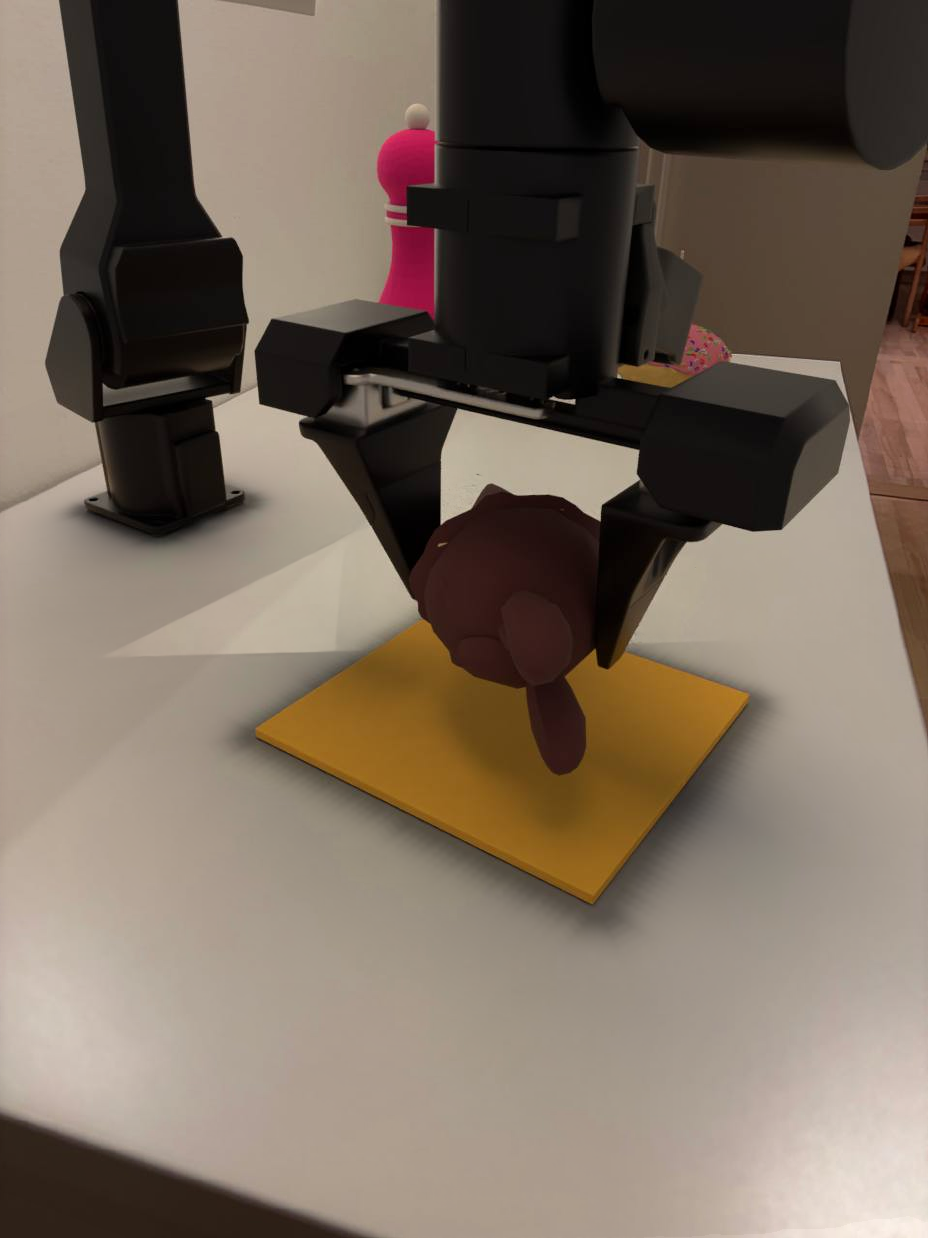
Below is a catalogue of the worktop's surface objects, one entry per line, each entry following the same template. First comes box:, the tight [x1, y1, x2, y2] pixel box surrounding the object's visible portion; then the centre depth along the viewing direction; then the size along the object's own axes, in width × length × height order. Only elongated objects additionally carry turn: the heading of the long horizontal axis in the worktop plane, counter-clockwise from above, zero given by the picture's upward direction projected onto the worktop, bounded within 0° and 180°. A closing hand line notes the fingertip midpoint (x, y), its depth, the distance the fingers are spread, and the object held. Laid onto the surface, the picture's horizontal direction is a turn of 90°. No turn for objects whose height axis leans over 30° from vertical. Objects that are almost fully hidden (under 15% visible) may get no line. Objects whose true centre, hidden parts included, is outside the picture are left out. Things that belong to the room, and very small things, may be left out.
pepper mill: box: [376, 103, 441, 320], centre depth 71 cm, size 7×7×20 cm
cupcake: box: [618, 250, 733, 388], centre depth 65 cm, size 9×8×12 cm
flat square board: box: [254, 618, 750, 905], centre depth 36 cm, size 14×13×1 cm
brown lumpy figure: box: [409, 482, 600, 776], centre depth 33 cm, size 7×7×15 cm
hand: (512, 628), depth 34 cm, fingers closed on brown lumpy figure, 7 cm apart
